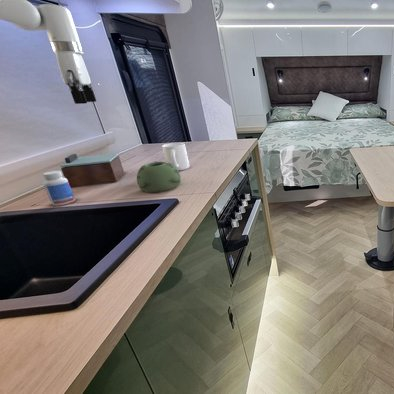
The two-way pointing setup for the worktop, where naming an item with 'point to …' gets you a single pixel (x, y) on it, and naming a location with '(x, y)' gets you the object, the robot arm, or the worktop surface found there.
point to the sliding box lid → (87, 159)
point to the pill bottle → (58, 188)
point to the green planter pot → (158, 177)
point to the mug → (176, 155)
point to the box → (93, 173)
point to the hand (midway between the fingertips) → (86, 102)
